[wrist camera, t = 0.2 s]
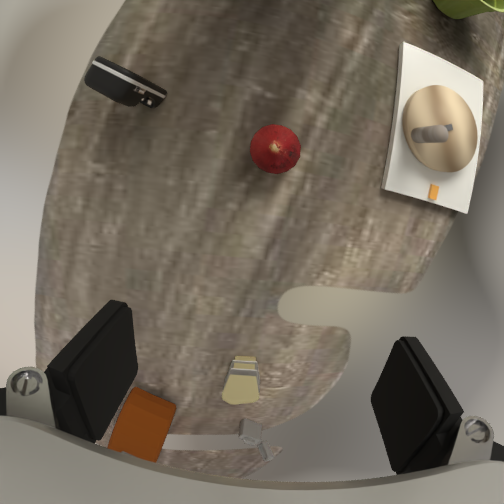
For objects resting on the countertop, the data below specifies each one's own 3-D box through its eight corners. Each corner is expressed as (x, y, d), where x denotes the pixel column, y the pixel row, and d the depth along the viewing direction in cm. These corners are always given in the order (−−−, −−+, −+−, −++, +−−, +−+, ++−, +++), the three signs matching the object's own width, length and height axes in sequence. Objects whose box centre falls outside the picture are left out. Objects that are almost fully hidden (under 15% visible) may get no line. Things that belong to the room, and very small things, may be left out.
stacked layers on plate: (216, 343, 46) (210, 365, 41) (271, 347, 46) (271, 369, 41) (218, 386, 50) (213, 408, 44) (268, 390, 49) (267, 412, 44)
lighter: (240, 421, 52) (236, 452, 44) (244, 417, 51) (240, 449, 44) (270, 433, 53) (269, 463, 45) (274, 429, 52) (274, 459, 45)
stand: (399, 44, 30) (405, 40, 28) (477, 82, 30) (485, 80, 28) (381, 188, 37) (386, 189, 35) (461, 212, 37) (469, 214, 35)
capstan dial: (454, 83, 29) (486, 73, 22) (477, 161, 32) (511, 165, 25) (389, 94, 31) (416, 82, 24) (417, 180, 34) (448, 188, 27)
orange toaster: (138, 376, 50) (104, 440, 34) (181, 395, 51) (157, 464, 35) (124, 432, 57) (100, 482, 41) (157, 446, 58) (139, 499, 42)
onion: (305, 141, 36) (314, 137, 28) (284, 179, 38) (288, 185, 30) (264, 120, 35) (263, 111, 28) (244, 159, 37) (237, 159, 29)
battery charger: (119, 95, 35) (74, 81, 24) (133, 73, 34) (91, 52, 23) (155, 116, 36) (114, 105, 25) (170, 92, 35) (134, 73, 24)
